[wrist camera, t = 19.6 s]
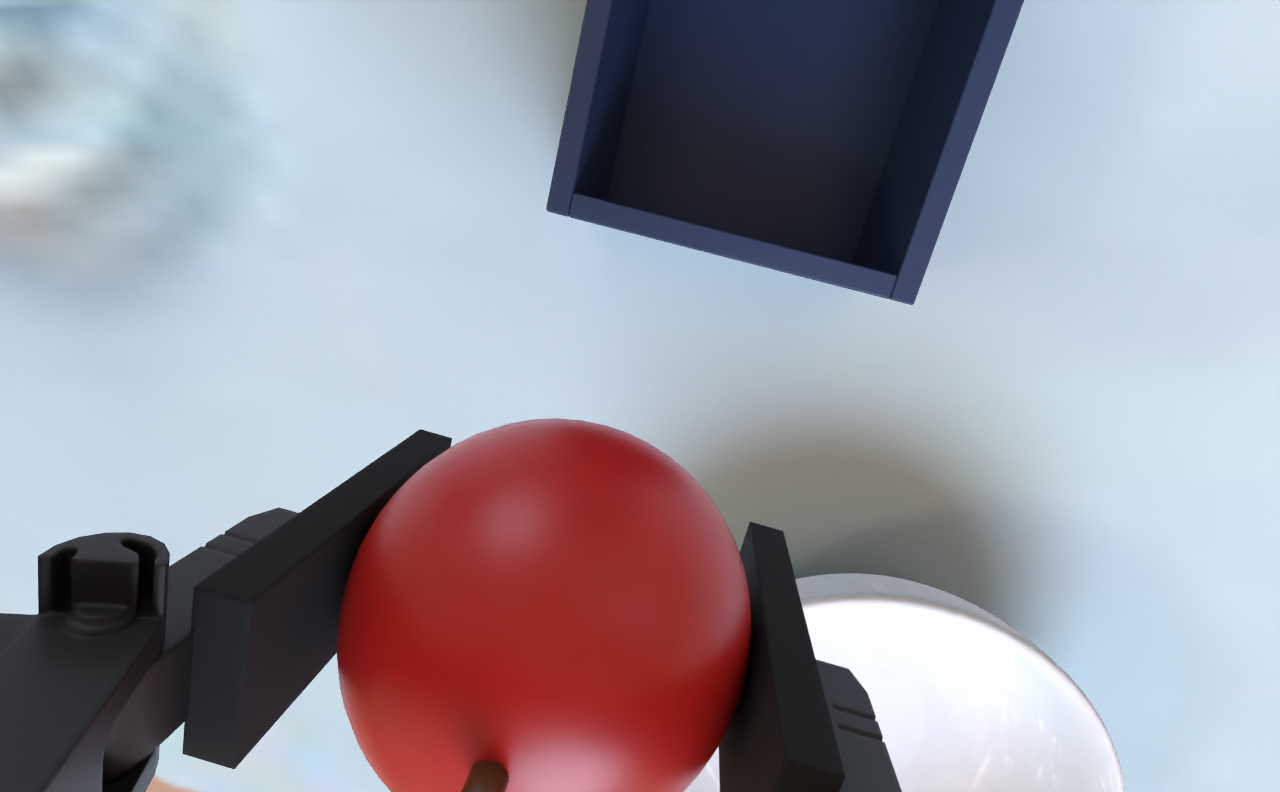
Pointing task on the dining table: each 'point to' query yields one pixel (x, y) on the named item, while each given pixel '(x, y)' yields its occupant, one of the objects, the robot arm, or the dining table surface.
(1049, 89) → the dining table surface
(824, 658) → the serving bowl
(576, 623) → the apple
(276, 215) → the dining table surface
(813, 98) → the lunchbox
